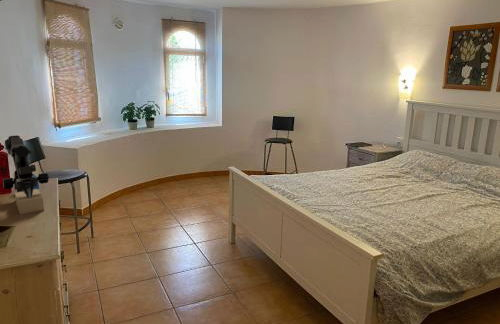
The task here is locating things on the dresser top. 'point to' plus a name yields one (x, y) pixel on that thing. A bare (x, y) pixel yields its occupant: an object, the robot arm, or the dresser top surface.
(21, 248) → the dresser top surface
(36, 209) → the carton
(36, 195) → the carton lid
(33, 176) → the perfume bottle
